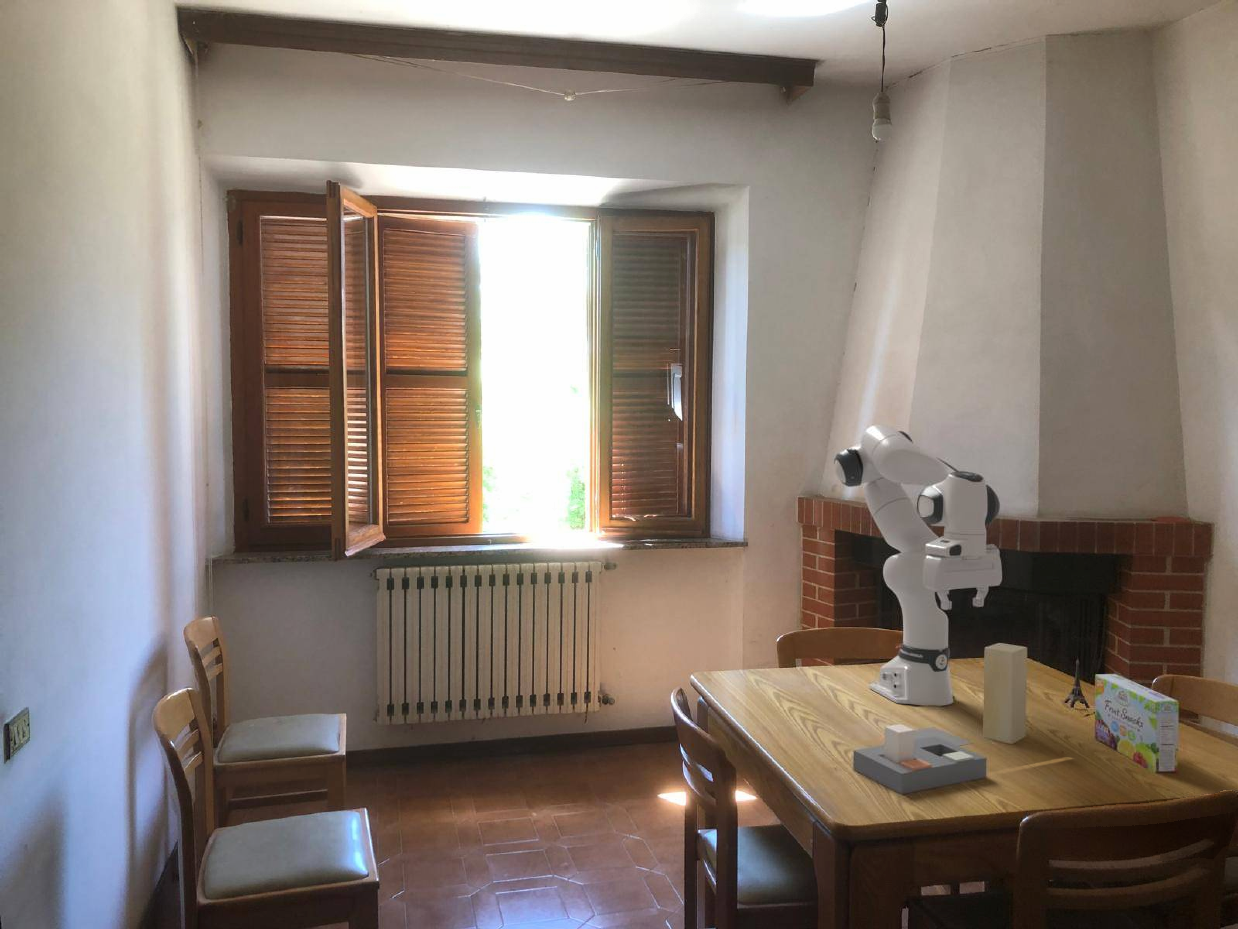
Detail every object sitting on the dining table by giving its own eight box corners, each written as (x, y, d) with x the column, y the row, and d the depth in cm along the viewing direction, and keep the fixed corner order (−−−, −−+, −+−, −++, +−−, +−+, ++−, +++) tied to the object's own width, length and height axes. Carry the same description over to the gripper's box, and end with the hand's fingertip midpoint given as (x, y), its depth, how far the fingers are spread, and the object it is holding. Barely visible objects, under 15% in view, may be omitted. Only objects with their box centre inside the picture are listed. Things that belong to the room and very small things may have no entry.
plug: (883, 775, 184) (884, 726, 183) (899, 772, 185) (900, 724, 185) (897, 782, 180) (898, 732, 180) (913, 779, 182) (914, 730, 181)
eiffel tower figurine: (1085, 719, 224) (1086, 665, 223) (1044, 709, 232) (1045, 657, 231) (1111, 708, 233) (1113, 656, 233) (1071, 699, 241) (1072, 648, 241)
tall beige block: (993, 731, 213) (996, 641, 212) (1025, 738, 207) (1028, 647, 207) (978, 738, 207) (981, 646, 206) (1011, 747, 202) (1013, 652, 201)
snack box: (1091, 739, 208) (1093, 673, 207) (1115, 738, 208) (1117, 673, 208) (1153, 773, 187) (1156, 700, 186) (1179, 773, 187) (1182, 700, 187)
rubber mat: (893, 736, 208) (893, 733, 208) (933, 729, 213) (933, 727, 213) (931, 753, 197) (931, 750, 197) (973, 746, 202) (973, 743, 202)
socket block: (853, 769, 187) (853, 747, 187) (935, 754, 196) (935, 734, 196) (901, 794, 174) (901, 771, 174) (986, 777, 183) (986, 755, 183)
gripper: (987, 542, 208) (985, 602, 209) (919, 545, 200) (917, 608, 200) (1010, 545, 203) (1008, 607, 203) (940, 549, 194) (938, 613, 195)
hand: (962, 607), depth 202 cm, fingers open, 8 cm apart
